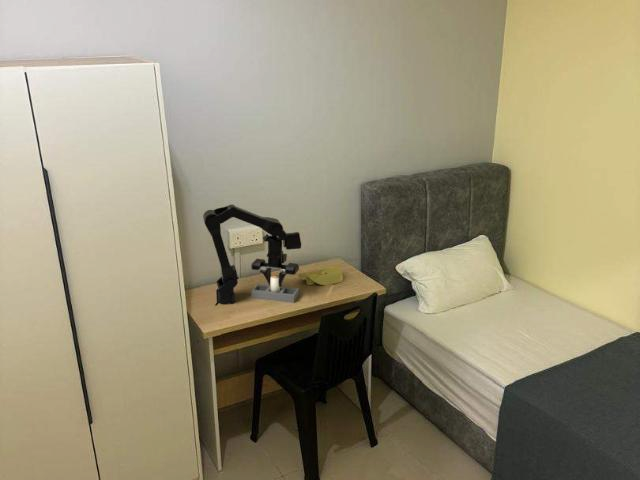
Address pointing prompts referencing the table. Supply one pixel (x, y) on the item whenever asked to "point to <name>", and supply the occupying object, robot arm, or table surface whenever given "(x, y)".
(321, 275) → the plastic component
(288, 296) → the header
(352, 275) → the table surface
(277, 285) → the plug
